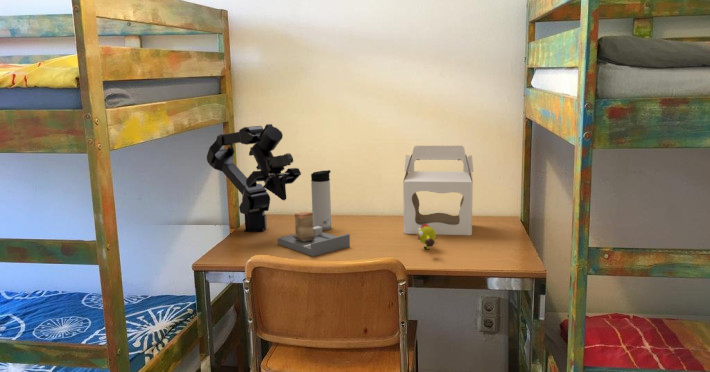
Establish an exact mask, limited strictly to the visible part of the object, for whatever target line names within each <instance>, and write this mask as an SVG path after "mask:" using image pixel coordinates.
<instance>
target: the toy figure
mask: <svg viewBox="0 0 710 372" xmlns="http://www.w3.org/2000/svg"><path fill="white" fill-rule="evenodd" d="M418 232H419V233H418V234H417V237H416V238H417V240H418V241H420V242H421V243H422V244H423V245H425V246H423V250H426V251H428V250H430V248H431V247H433V246H434V244H435V240H436V237H437V235H436V232H435V230H434V229H433V228H431V227H429V226H428V225H427V224H424V225H422V226H421V228H419V229H418Z"/></svg>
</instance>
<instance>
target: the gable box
mask: <svg viewBox="0 0 710 372" xmlns="http://www.w3.org/2000/svg"><path fill="white" fill-rule="evenodd" d="M465 151H466V150H465V147H464V146H463V145H414V146H413V148H412V153H411V155H405V160H404V161H405V162H404V173H405V175H404V179H403V183H402V184H403V186H402V189H403V190H402V191H403V192H402V193H403V194H402V195H403V235H405V234H406V235H418V233H419V232H418V229H419V228H421V226H422V225H424V224H427V225H428V226H429V227H431V228H433V229H434V230H435V232H436V236H437V235H443V236H472V235H473V188H474V187H473V182H474V181H473V173H474V163H473V155H468V156H467V154H466V152H465ZM421 160H422V161H425V160H426V161H427V160H428V161H429V160H430V161H431V160H432V161H439V160H440V161H441V160H442V161H443V160H444V161H446V160H447V161H462V164H463V169H462V170H463V171H448V170H447V171H444V170H443V171H438V170H437V171H435V170H433V171H430V170H429V171H427V170H426V171H424V170H422V171H420V170H417V171H416V170H415V162H416V161H421ZM418 192H430V193H435V194H436V193H437V194H449V193H450V194H451V193H457V194H460V195H462V197H461V200H460V205H459V212H458V214H457V215H452V214H448V213H446V212H445V213H444V212H433V213H430V214H422V213H420V199H419V197H418V194H417V193H418Z"/></svg>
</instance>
